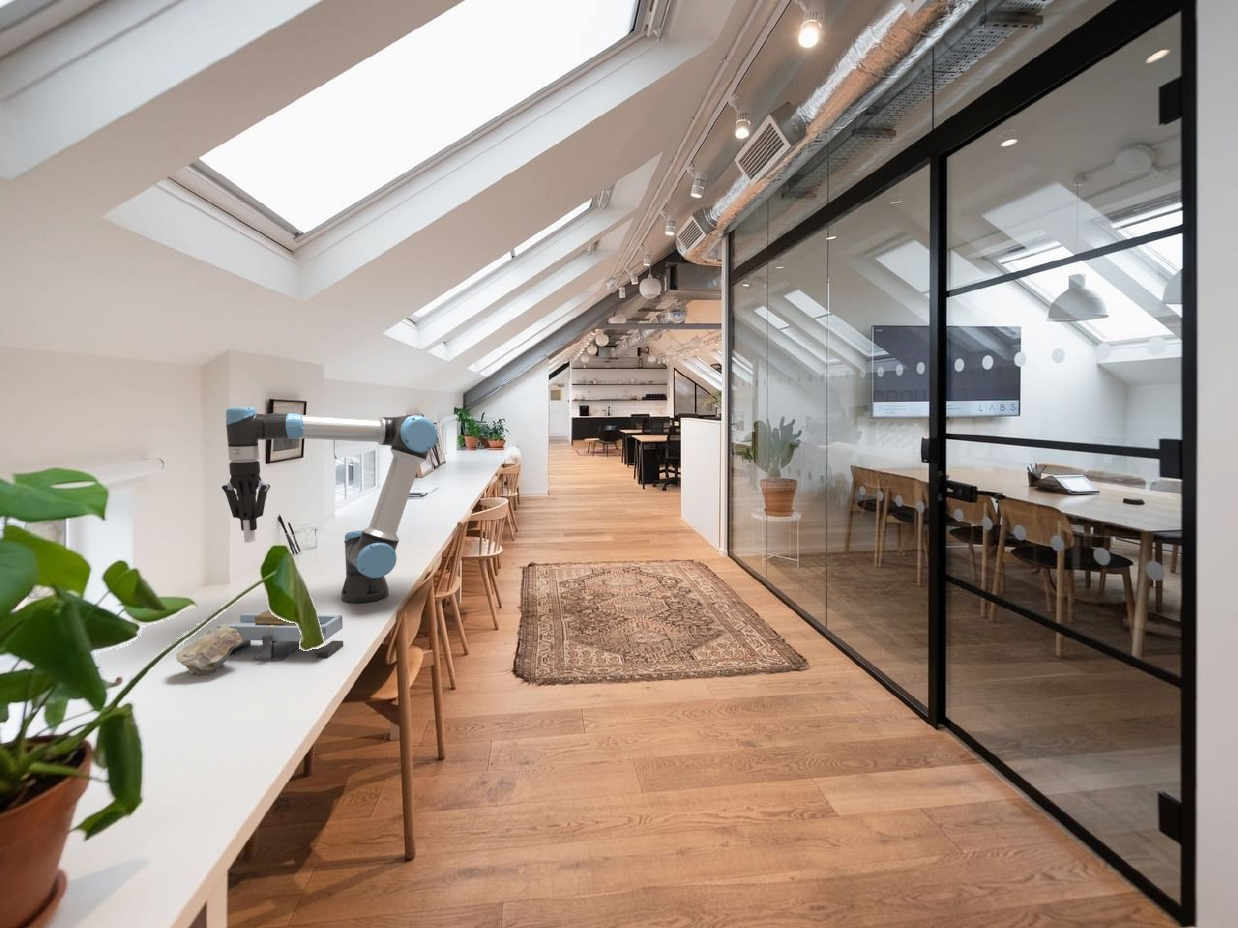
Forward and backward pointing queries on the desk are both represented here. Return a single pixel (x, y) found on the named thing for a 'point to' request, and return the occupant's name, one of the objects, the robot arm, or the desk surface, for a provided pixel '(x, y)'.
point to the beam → (282, 628)
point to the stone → (209, 650)
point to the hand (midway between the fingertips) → (249, 541)
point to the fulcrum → (285, 649)
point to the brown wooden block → (270, 620)
